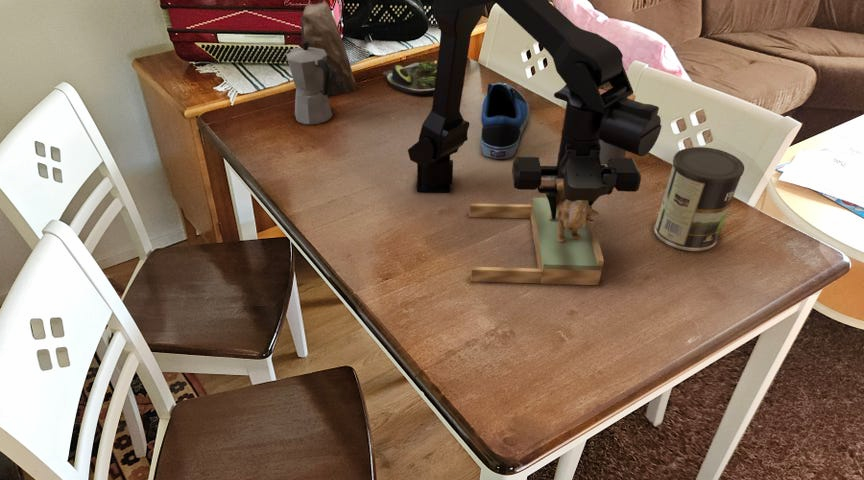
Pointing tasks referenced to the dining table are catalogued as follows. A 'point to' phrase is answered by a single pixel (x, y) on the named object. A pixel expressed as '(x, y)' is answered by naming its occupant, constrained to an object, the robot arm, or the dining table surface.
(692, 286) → the dining table surface
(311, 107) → the coffeepot
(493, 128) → the shoe
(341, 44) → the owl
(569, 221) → the lion figurine
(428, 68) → the salad plate
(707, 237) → the coffee can
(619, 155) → the bottle
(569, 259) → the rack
